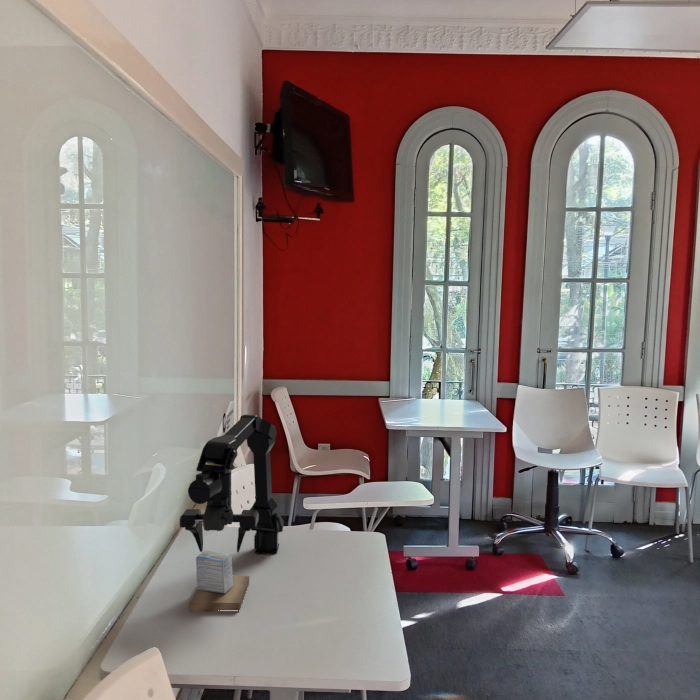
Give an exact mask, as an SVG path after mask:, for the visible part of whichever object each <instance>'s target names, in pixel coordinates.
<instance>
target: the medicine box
mask: <svg viewBox="0 0 700 700" xmlns="http://www.w3.org/2000/svg"><path fill="white" fill-rule="evenodd" d="M232 556H233V555H232V553H226V552H221V551H220V552H219V551H213V550H204V551H202V552H200V553H199V554H198V555H197V556H196V558H195V564H196V565H195V566H196V589H198V590H204V591H211V592H218V593H224V594H225V593H226V592H227V591H228V590H229V589H230V588H231V587H232V586H233V576H234V575H233V557H232Z"/></svg>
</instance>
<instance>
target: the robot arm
mask: <svg viewBox="0 0 700 700" xmlns="http://www.w3.org/2000/svg"><path fill="white" fill-rule="evenodd" d="M276 438H277V429H276V426H275V425H273V423H272V422H270V421H267V420H266V419H263V418H262V417H261V416H259V415H256V414H243V415H241V416H240V418H239V420H238V421H236V423H235V424H233V426H231V428H230V429H228V430H227V431H226V432H225V433H224V434H222V435H220V436H216V437H213V438H211V439H209V440H208V441H206V443H205V445H204V446H203V448H202V451H201V454H200V456H199V459H198V463H197V466H196V472H200V473H197V474H196V475H195V480H193V481H192V482H190V484H189V486H188V489H187V492H188V493H187V494H188V496H189V499H190V500H191V501H192V502H193V503H195V504H198V505H203V504H206V506H205V509H204V513H202V511H201V509H199V508H186V509H185V511H183V512H182V514H181V515H180V516H179V527H180V528H184V529H185V531H189V532H190V533H191V534H192V536H193V537H194V540H195V542H196V545H197V548H198V550H199V552H200V553H202V552H204V551H203V550H204V534H203V529H204V531H206V532H210V531H217V532H221V531H223V530H224V529H225V526H228V525H232V524H233V523H239V524H238V525H239V527H238V530H237V531H238V533H237V535H238V536H237V543H236V552H237V553H240V550H241V547H242V544H243V540H244V538H245V536H246V535H245V534H246V532H250V531H253V532H254V531H255V534H254V537H253V538H254V539H253V541H254V544H253V545H254V546H253V548H254V550H255V551H254V553H255V554H265V555H267V554H272V555H273V554H274V555H275V554H277V553H278V550H279V547H280V543H279V533H282V532H284V531H283V530H284V529H283V528H284V525H285V524H284V523H285V521H284V519H283V517H282V516H281V514H280V512H279V505H278V504H277V502H276V501H275V499H274V498H273V494H272V493H273V491H272V490H273V489H272V470H271V469H272V466H271V450H272V448H273V446H274V445H275V443H276ZM245 441H246V445H247V447H248V448H249V450H250V451H251V452H252V454H253V472H254V475H253V476H254V477H253V479H254V495H255V498H254V499H255V501H254V503H253V505H251V507H250V509H243V510H242V511H241V513H239V514H237V513H236V514H235V513H234V511H233V509H232V470H234V468H235V466H234V463H235V460H236V458H237V456H238V449H239V447H240V446H241V445H243V443H245Z"/></svg>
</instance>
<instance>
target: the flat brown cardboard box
mask: <svg viewBox="0 0 700 700" xmlns="http://www.w3.org/2000/svg"><path fill="white" fill-rule="evenodd" d="M249 587H250V576H249V575H233V586H232V587H231V588H230V589H229V590H228V591H227V592H226V593H225V594H224V593H218V592H211V591H204V590H198V589H197V588H196V589H195V591H194V592H193V593H194V594H193V595H192V597H191V598H190V601H189V612H211V611H218V610H219V611H220V610H238V611H239V610H240V611H241V609H240V608H242V606H243V603H244V601H243V600H245V598H246V595H245V594H247V592H248V589H249ZM247 588H248V589H247ZM246 591H247V592H246ZM244 597H245V598H244ZM241 605H242V606H241Z"/></svg>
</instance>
